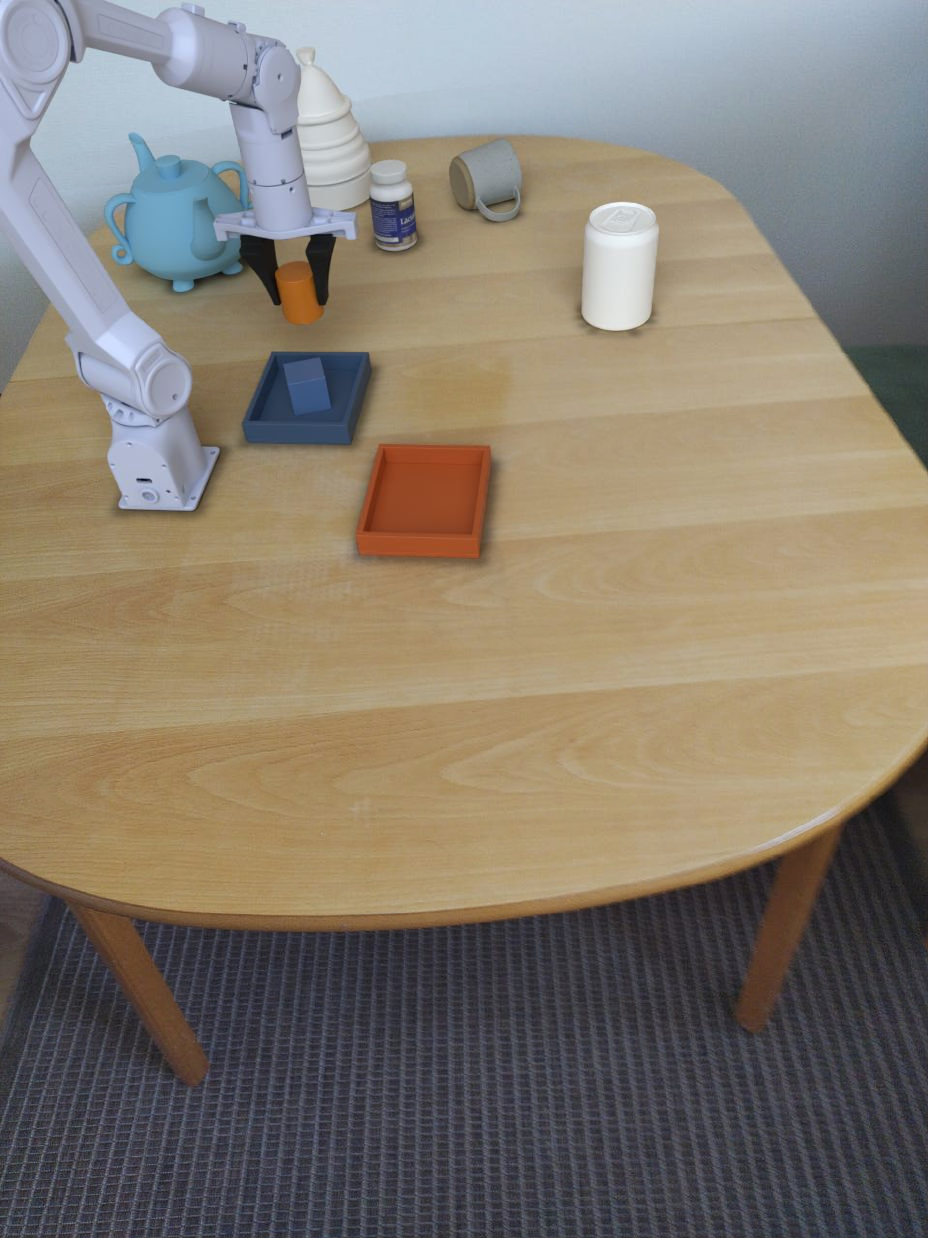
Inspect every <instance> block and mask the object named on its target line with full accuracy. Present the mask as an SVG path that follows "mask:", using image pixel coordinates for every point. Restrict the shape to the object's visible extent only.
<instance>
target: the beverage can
mask: <svg viewBox="0 0 928 1238" xmlns="http://www.w3.org/2000/svg"><path fill="white" fill-rule="evenodd" d="M656 218H657V217H656V213H655V211H653V210H652V209H651V208H650V207H649V206H646V205H645V204H641V203H638V202H631V201H614V202H608V203H605V204H602V205H600V206H598V207H595V208H594V209H593V210H592V211H591V212H590V214H589V218H588V220H587V222H586V224H585V226H584V230H583V231H584V232H583V259H582V263H583V264H582V283H581V284H582V285H581V288H582V289H581V316H582V318H583V319H584V320H585V322H587V323H588V324H590V325H591V326H592V327H595V328H597V329H600V330H605V331H613V332H621V331H627V330H628V331H629V330H632V329H635V328H638V327H639V326H642V325H643V324H644V323H646V322H647V321H648V320H649V319H650V317H651V315H652V309H653V297H654V287H655V279H656V278H655V276H656V268H657V257H658V256H657V255H658V246H659V236H660V227H659V224H658V222H657V220H656Z"/></svg>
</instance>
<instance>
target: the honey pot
mask: <svg viewBox="0 0 928 1238" xmlns="http://www.w3.org/2000/svg"><path fill="white" fill-rule="evenodd" d="M295 56H296V58H297V60H298V62H299V63H300V65H302V66H304V67H303V68H302V69H301V85H300V90H299V93H298V98H297V106H298V112H299V116H298V123H297V124H296V126H297V131H298V137H299V142H300V148H301V153H302V158H303V164H304V170H305V175H306V181H307V186H308V191H309V197H310V202H311V206H312V207H317V208H323V209H329V210H334V211H340V212H342V211H345V210H348V209H352V208H354V207H358V206H359V205H361V204H363V203H364V202H366V201H367V200H370V197H369V189H370V186H371V185H372V183H373V181H372V179H371V175H370V167H371V166H372V165H373V163H372V157H371V156H372V155H371V150H370V147H369V144H368V143H367V142H366V141H365V138H364V135H363V133H362V131H361V129H360V125H359V122H357V120H356V119H355V117H354V115H353V112H352V111H351V109H352V107H353V103H352V100H351V98H350V97H349V96H347V95H346V94H344V93H341V91H340V89H339V88H338V86H337V85H336V83H335V82H334V80H332V78H331V77H330V76H329V75H328V73H327V72H325V71H324V70H323V69H322V68H321V67H319V66H317V65H314V62H315V59H316V49H315V47H313V46H303V47H299V48H297V49H295Z"/></svg>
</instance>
